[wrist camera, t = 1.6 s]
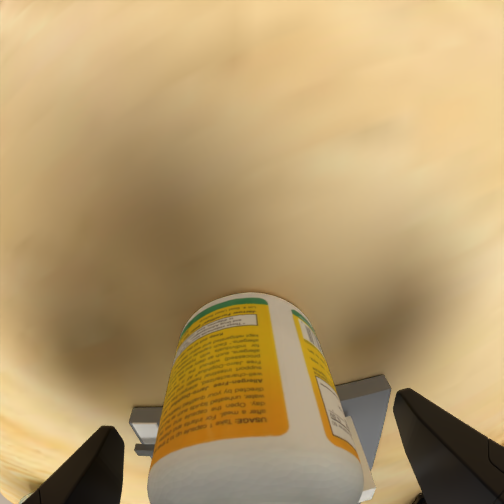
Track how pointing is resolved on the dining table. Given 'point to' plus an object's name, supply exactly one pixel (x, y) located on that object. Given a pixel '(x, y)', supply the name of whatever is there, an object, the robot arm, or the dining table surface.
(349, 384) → the gauge base
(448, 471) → the robot arm
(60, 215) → the dining table surface
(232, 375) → the supplement bottle
